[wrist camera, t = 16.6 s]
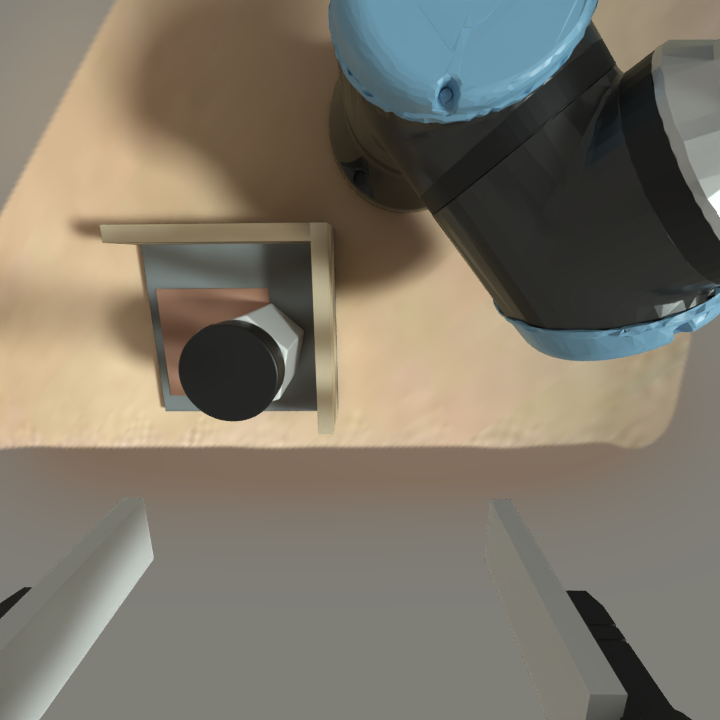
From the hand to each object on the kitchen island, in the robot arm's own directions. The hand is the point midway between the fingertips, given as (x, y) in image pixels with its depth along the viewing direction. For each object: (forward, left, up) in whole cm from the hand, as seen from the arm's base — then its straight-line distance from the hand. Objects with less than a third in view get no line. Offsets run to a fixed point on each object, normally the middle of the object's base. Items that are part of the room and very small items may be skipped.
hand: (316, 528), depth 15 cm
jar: (-1, -9, -29) cm, 30 cm away
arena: (-3, -12, -30) cm, 32 cm away
